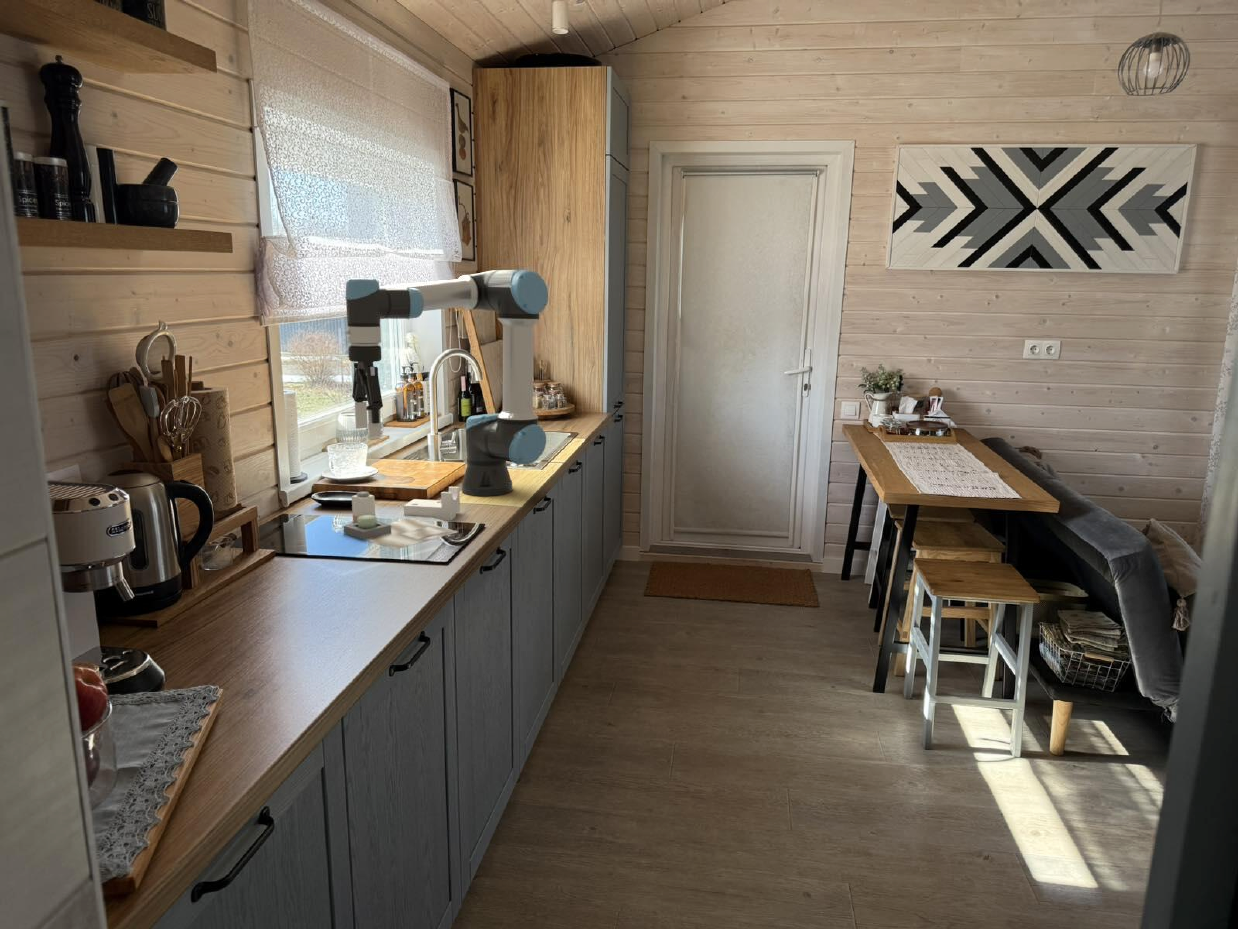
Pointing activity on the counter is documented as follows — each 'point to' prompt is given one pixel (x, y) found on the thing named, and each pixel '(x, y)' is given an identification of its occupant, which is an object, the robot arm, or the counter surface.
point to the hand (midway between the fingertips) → (368, 432)
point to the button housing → (367, 530)
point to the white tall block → (363, 505)
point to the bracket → (436, 506)
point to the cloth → (410, 533)
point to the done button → (367, 521)
